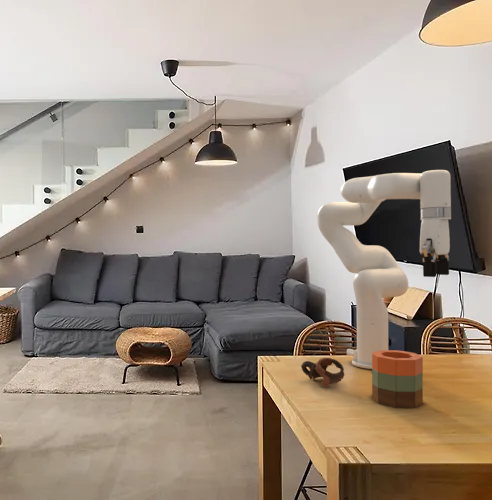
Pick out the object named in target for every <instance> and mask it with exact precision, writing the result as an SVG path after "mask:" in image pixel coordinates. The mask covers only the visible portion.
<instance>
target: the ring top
mask: <svg viewBox="0 0 492 500" xmlns="http://www.w3.org/2000/svg"><path fill="white" fill-rule="evenodd" d="M423 358H424V357H423V356H422V355H420V354H418V353H416V352H411V351H404V350H398V349H395V350H394V349H393V350H391V349H388V350H380V351H377V352H373V353H372V368H373V369H374V370H376V371H377V372H379V373H384V374H389V375H395V376H416V375H418V374H421V373H423V371H424V369H423V368H424V362H423V361H424V359H423ZM423 374H424V373H423Z"/></svg>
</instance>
